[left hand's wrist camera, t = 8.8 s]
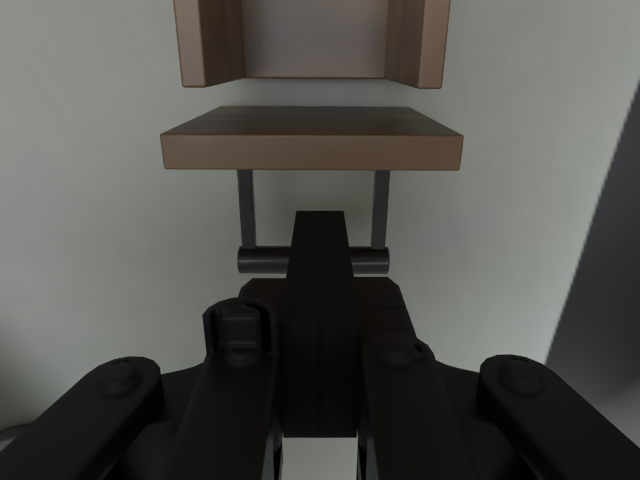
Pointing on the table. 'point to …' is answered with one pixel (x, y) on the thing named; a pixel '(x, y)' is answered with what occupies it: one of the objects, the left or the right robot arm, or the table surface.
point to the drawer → (312, 122)
